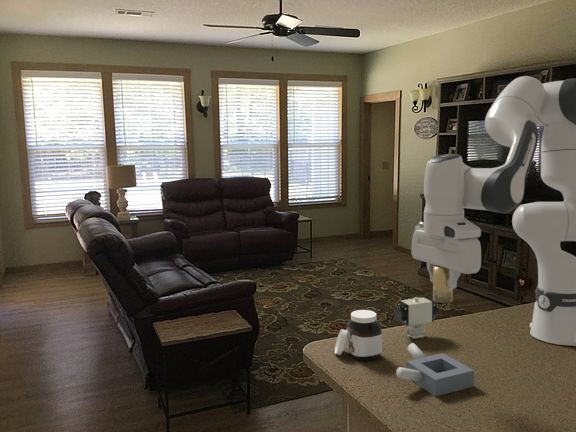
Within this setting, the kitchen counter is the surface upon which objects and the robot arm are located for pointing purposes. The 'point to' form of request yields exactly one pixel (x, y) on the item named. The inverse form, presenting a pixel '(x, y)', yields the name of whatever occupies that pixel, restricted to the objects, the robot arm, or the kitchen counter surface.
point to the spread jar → (361, 336)
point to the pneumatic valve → (416, 315)
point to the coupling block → (436, 372)
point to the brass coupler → (441, 285)
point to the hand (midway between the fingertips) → (443, 284)
